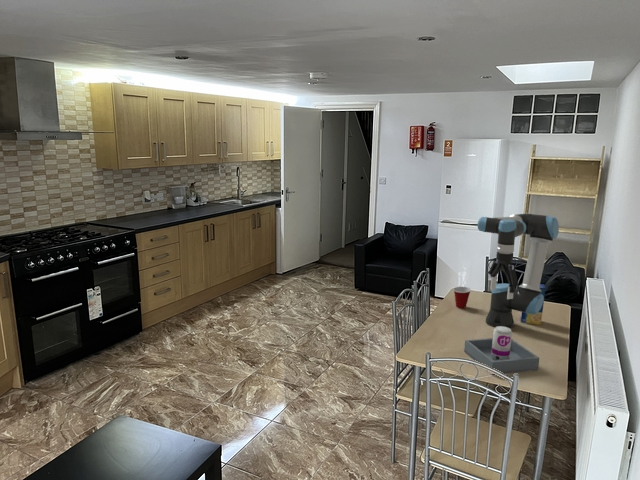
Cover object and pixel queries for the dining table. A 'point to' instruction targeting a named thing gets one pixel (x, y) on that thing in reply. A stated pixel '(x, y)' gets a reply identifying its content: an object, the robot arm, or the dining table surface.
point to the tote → (516, 362)
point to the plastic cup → (461, 296)
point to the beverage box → (534, 317)
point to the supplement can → (501, 343)
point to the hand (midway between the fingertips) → (501, 294)
